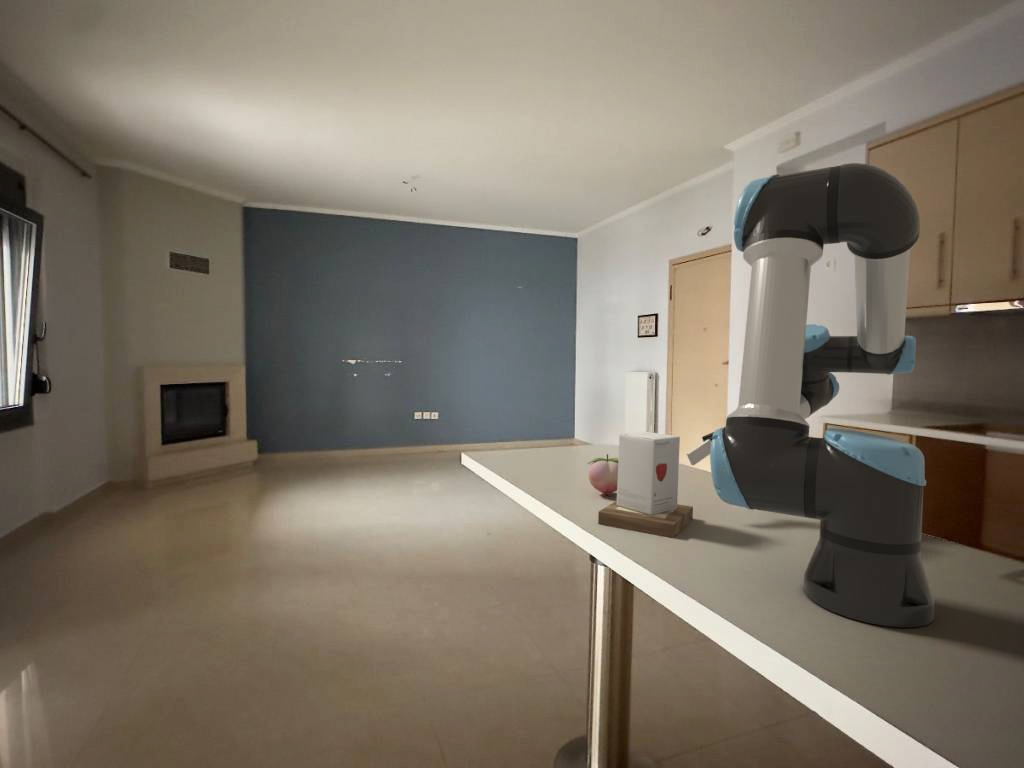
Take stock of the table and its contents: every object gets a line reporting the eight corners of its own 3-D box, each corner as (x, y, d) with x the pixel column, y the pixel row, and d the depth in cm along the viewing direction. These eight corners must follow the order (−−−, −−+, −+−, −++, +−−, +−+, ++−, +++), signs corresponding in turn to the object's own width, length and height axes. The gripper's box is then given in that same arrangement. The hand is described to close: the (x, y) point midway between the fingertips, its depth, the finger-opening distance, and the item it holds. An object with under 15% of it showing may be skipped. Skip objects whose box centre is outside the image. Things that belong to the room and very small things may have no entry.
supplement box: (651, 516, 105) (653, 439, 105) (615, 505, 112) (617, 433, 112) (678, 508, 111) (681, 435, 110) (642, 499, 118) (645, 430, 117)
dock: (673, 537, 101) (674, 522, 101) (598, 523, 109) (598, 510, 109) (692, 518, 114) (693, 505, 114) (623, 507, 122) (624, 494, 122)
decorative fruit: (622, 491, 137) (623, 451, 137) (628, 499, 129) (629, 457, 129) (584, 490, 137) (585, 450, 137) (588, 498, 129) (589, 456, 129)
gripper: (842, 430, 106) (771, 484, 98) (743, 428, 129) (679, 472, 121) (828, 395, 105) (755, 447, 97) (731, 400, 128) (666, 442, 120)
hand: (713, 461), depth 109 cm, fingers open, 13 cm apart
